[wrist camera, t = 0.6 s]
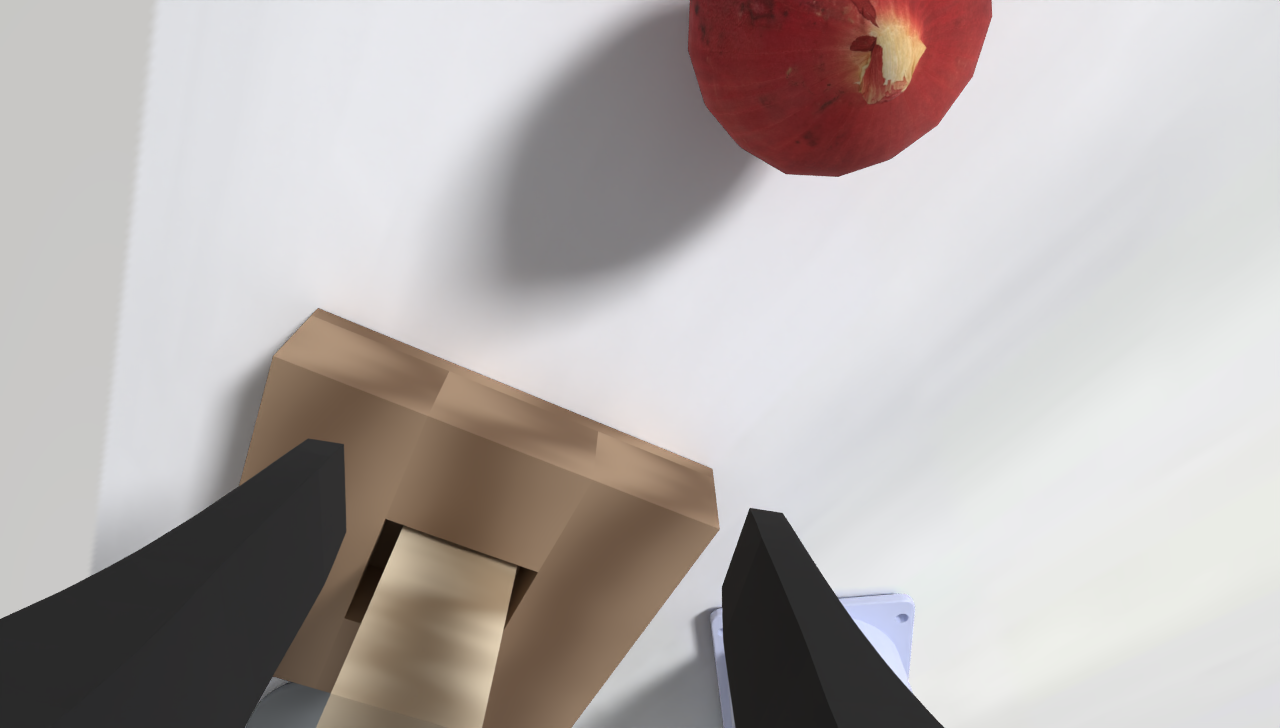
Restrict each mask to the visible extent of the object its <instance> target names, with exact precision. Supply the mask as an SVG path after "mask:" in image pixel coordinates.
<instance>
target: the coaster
mask: <svg viewBox="0 0 1280 728" xmlns="http://www.w3.org/2000/svg"><path fill="white" fill-rule="evenodd" d="M330 694H331V693H328V692H325V691H321V690H318V689H314V688H311V687H308V686H304V685H301V684H297V683H294V682H291V683H288V684H285V685H283V686H281V687H279V688H277V689H276V690H274V691H272V692H271V693H270V694H268V695H267V696H266V697H265V698H264V699H263V700H262V701H261V702H260V703H259V704H258V705H257V707H256V709H255V710H254V712H253V714H252V716H251V717H250V719H249V721H248V723H247V726H246V728H316V727H317V724H318V722H319V720H320V717H321V715H322V713H323V710H324V708H325V706H326V703H327V701H328V699H329V697H330Z"/></svg>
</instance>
